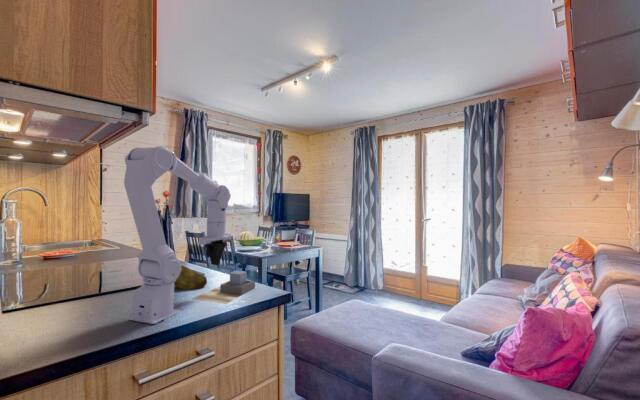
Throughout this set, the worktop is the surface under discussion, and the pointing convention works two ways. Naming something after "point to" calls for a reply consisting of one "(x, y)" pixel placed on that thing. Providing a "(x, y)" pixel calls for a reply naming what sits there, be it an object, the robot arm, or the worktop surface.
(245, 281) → the plug
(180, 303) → the worktop surface
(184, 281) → the potato
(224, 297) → the board
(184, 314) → the worktop surface
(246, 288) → the frame
